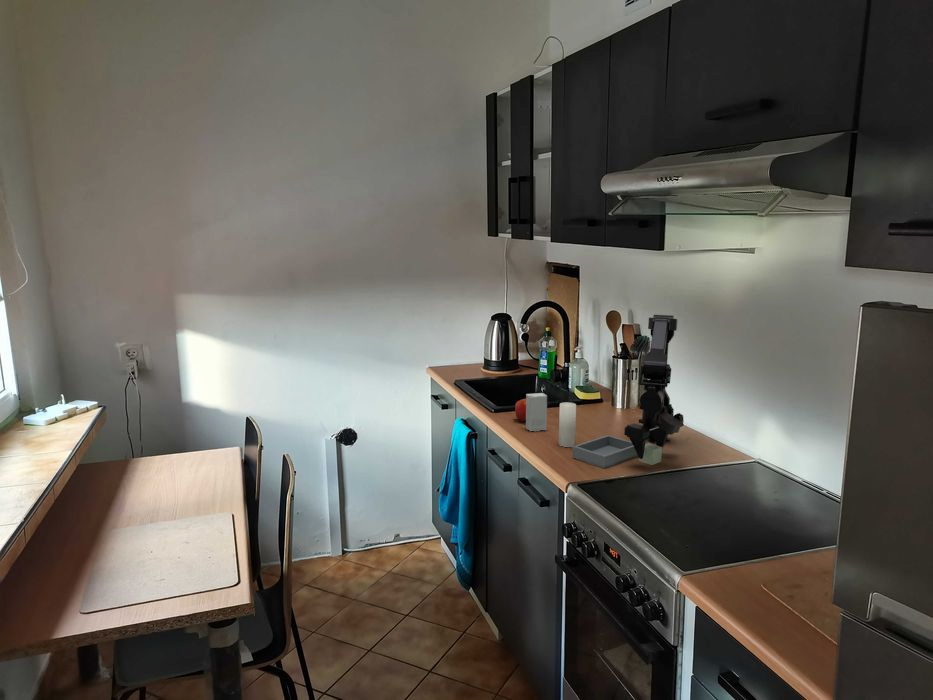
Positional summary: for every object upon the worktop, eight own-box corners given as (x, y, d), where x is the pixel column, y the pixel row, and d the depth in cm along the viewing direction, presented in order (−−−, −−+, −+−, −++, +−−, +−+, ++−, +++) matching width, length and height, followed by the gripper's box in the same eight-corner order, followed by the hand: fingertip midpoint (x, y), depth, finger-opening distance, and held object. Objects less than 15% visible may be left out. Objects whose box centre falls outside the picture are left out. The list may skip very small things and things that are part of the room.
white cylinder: (571, 442, 215) (572, 401, 212) (577, 447, 210) (578, 406, 208) (556, 443, 214) (557, 402, 211) (562, 448, 209) (563, 407, 206)
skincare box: (542, 427, 230) (543, 392, 228) (547, 431, 226) (548, 395, 223) (524, 428, 228) (525, 393, 226) (529, 432, 224) (530, 396, 222)
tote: (607, 445, 211) (608, 435, 210) (639, 455, 202) (640, 444, 202) (572, 457, 200) (572, 446, 200) (604, 468, 192) (604, 456, 191)
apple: (535, 425, 232) (536, 403, 230) (511, 423, 234) (511, 400, 233) (540, 419, 239) (540, 397, 238) (517, 417, 242) (517, 395, 240)
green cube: (647, 457, 201) (648, 443, 200) (661, 461, 198) (661, 446, 197) (638, 461, 198) (639, 446, 197) (652, 465, 195) (652, 450, 194)
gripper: (658, 414, 183) (655, 470, 186) (696, 402, 195) (692, 455, 198) (624, 406, 191) (621, 459, 194) (662, 395, 203) (659, 445, 206)
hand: (650, 455), depth 198 cm, fingers open, 9 cm apart
